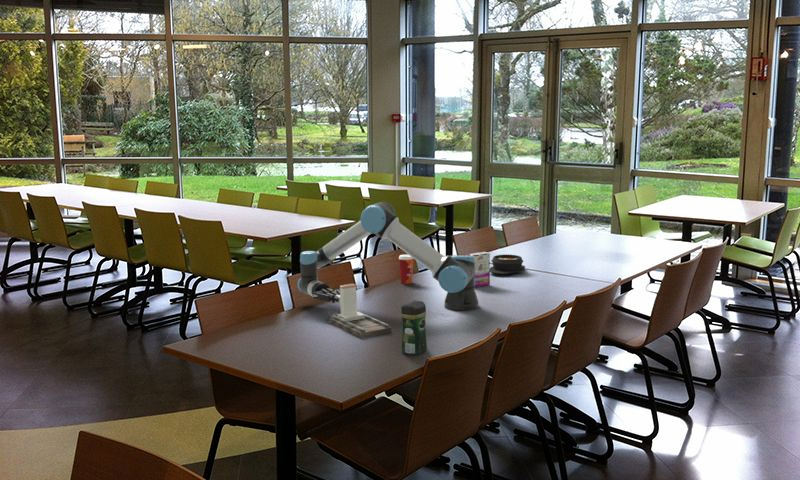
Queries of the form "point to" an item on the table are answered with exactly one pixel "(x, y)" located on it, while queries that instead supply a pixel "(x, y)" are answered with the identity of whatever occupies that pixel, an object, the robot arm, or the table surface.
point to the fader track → (360, 325)
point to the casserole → (507, 264)
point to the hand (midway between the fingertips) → (344, 301)
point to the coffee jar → (413, 328)
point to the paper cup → (406, 268)
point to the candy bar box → (481, 268)
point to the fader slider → (349, 303)
